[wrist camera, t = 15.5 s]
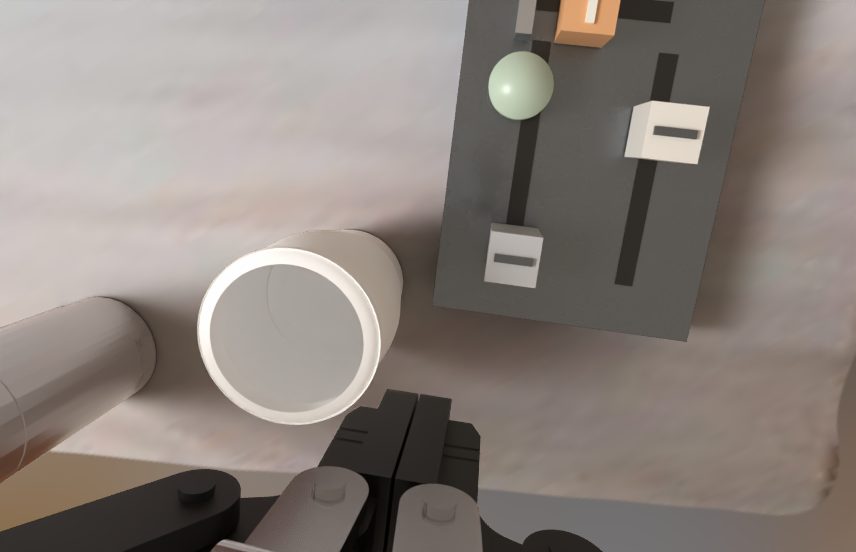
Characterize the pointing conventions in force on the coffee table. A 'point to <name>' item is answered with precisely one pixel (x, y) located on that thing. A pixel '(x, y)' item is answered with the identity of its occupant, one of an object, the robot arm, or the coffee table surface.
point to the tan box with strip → (586, 22)
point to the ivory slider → (667, 132)
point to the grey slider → (513, 255)
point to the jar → (301, 324)
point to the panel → (593, 164)
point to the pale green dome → (520, 85)
